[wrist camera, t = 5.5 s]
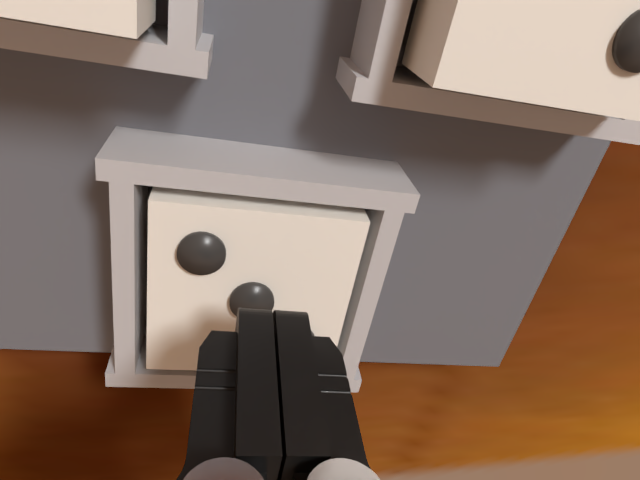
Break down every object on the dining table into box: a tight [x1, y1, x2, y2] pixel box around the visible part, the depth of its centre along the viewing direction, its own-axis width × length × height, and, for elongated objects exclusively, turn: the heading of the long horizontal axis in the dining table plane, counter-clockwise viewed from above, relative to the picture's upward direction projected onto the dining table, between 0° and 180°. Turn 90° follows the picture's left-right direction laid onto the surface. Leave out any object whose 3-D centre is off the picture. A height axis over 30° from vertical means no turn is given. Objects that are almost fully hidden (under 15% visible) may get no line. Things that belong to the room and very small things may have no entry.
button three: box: [146, 186, 370, 370], centre depth 13 cm, size 5×5×2 cm
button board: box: [0, 0, 640, 392], centre depth 12 cm, size 19×17×4 cm
